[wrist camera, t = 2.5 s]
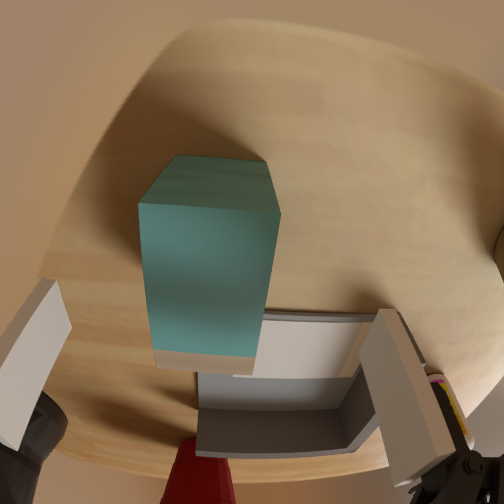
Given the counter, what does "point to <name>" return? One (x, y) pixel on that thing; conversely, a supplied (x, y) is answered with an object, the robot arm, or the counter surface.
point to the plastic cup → (198, 478)
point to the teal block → (208, 261)
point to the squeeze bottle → (500, 254)
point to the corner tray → (293, 392)
